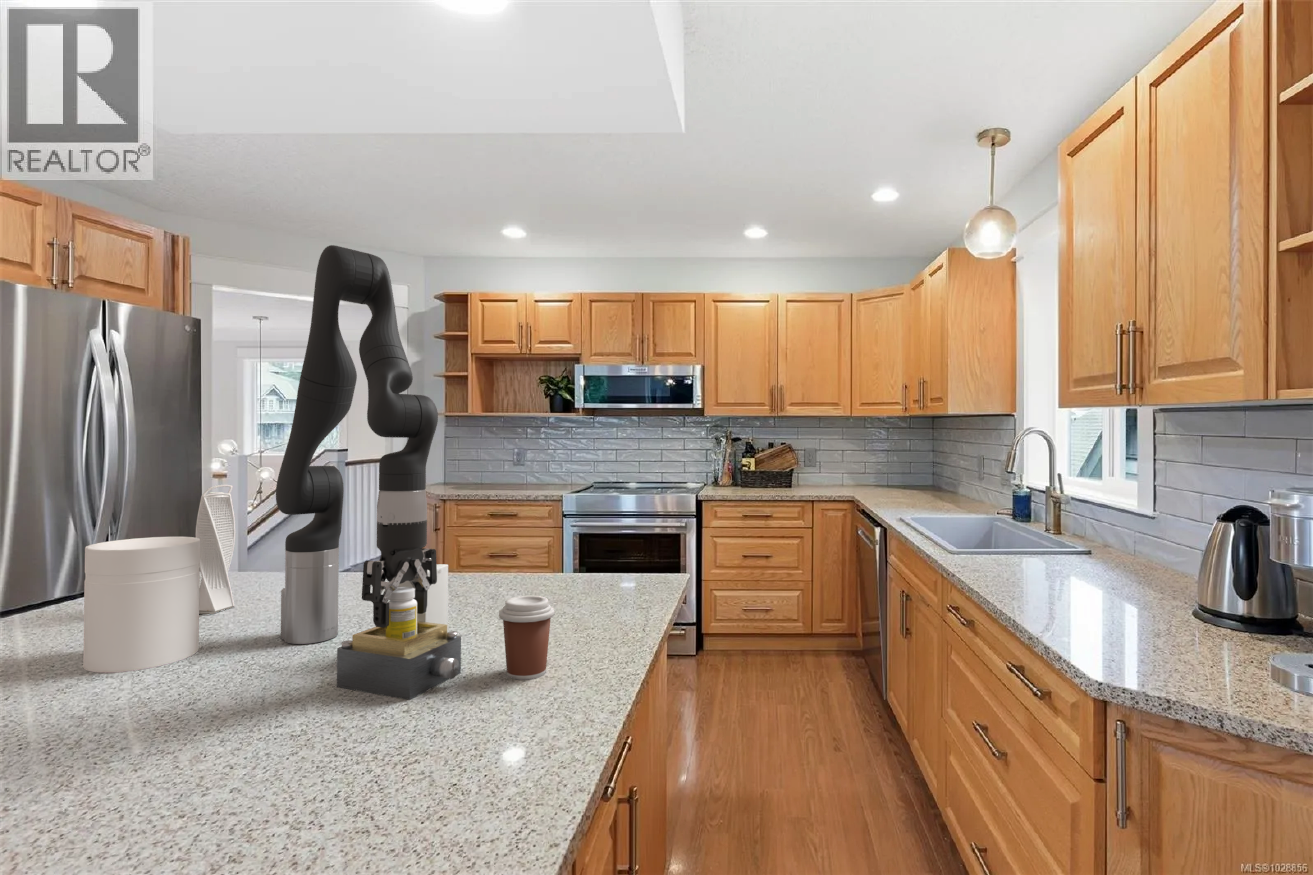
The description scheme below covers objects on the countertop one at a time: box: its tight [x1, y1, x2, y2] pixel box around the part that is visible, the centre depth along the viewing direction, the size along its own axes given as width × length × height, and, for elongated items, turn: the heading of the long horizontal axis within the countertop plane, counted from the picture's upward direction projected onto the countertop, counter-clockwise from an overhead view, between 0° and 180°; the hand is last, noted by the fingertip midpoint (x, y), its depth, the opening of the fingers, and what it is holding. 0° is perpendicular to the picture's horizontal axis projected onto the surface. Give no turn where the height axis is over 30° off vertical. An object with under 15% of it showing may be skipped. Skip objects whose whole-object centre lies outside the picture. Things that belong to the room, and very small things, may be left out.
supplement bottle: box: [386, 587, 417, 639], centre depth 105 cm, size 5×5×8 cm
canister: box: [82, 536, 201, 674], centre depth 115 cm, size 16×16×20 cm
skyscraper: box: [195, 484, 236, 615], centre depth 147 cm, size 8×8×28 cm
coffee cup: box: [498, 594, 556, 681], centre depth 108 cm, size 9×9×12 cm
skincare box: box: [398, 563, 449, 633], centre depth 118 cm, size 8×7×16 cm
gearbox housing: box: [336, 621, 462, 701], centre depth 104 cm, size 17×12×8 cm
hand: (401, 619), depth 105 cm, fingers open, 8 cm apart
